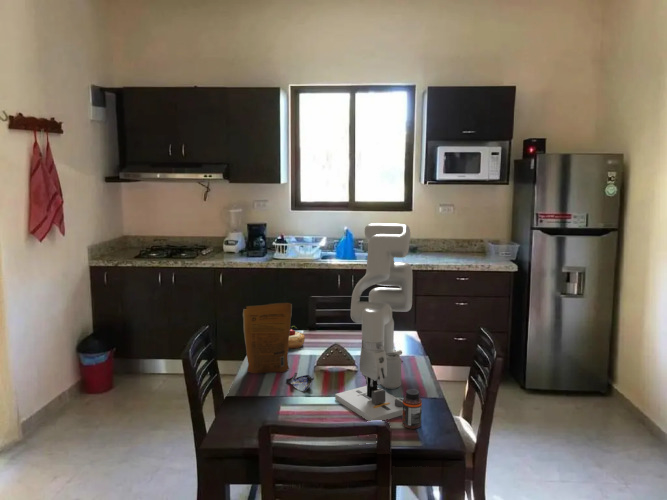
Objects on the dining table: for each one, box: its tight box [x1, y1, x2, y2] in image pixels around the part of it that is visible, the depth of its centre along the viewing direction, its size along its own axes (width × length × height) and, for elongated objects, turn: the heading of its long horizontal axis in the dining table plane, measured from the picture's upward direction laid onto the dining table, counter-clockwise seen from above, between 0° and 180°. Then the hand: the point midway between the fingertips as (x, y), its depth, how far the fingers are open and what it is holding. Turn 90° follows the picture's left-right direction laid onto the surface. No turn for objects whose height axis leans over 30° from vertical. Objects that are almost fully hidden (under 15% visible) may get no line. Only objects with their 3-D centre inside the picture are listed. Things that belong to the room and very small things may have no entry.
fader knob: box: [372, 388, 387, 405], centre depth 189 cm, size 4×2×4 cm, turn 123°
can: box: [381, 353, 402, 390], centre depth 208 cm, size 8×8×12 cm
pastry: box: [288, 325, 306, 350], centre depth 253 cm, size 12×12×9 cm
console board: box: [334, 385, 403, 422], centre depth 192 cm, size 16×22×4 cm
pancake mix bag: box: [242, 302, 293, 375], centre depth 220 cm, size 7×19×28 cm, turn 98°
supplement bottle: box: [402, 388, 423, 429], centre depth 178 cm, size 6×6×11 cm
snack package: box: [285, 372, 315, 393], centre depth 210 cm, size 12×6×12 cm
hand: (372, 396), depth 192 cm, fingers closed
